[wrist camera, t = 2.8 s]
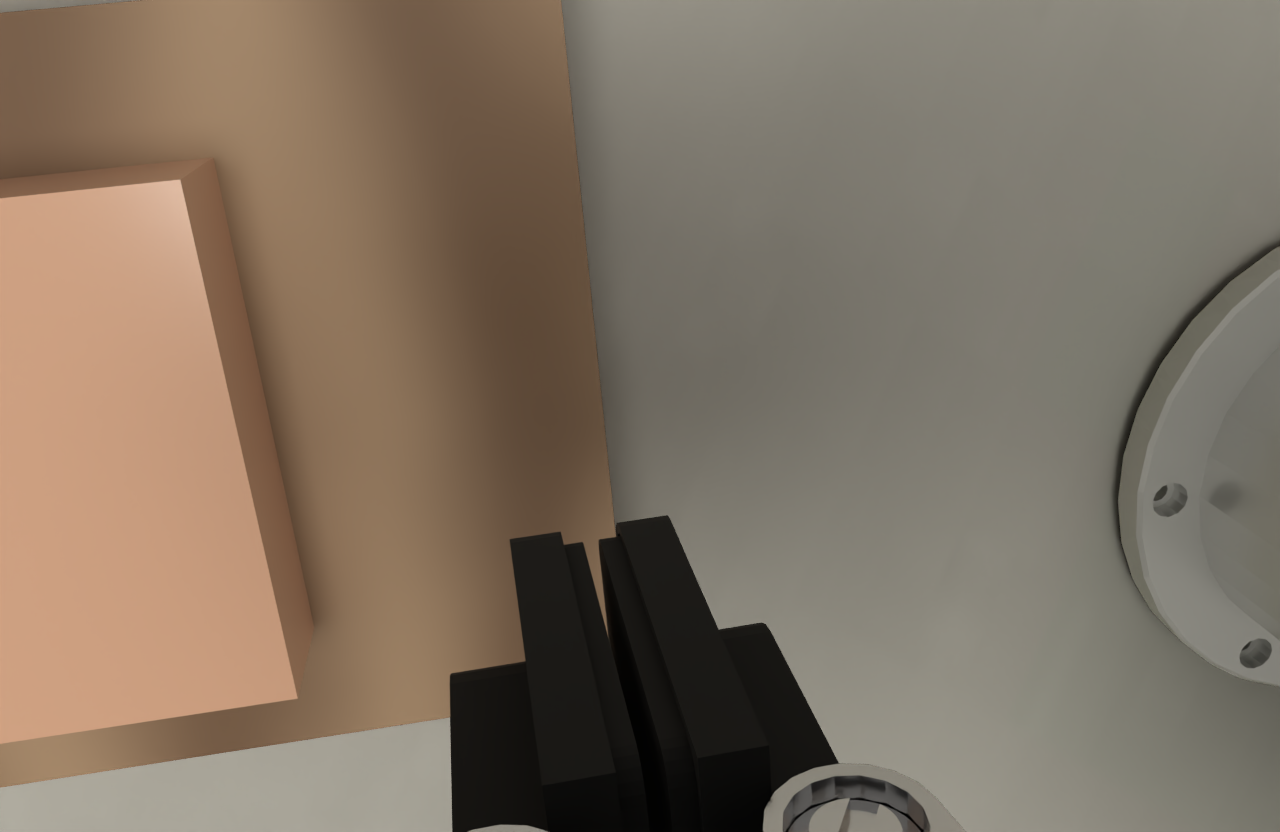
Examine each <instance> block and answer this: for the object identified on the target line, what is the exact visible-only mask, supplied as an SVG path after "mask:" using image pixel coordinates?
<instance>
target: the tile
mask: <svg viewBox="0 0 1280 832" xmlns="http://www.w3.org/2000/svg"><path fill="white" fill-rule="evenodd" d="M313 631H314V624H313V619H312V615H311V610H310V605H309V601H308V596H307V591H306V587H305V582H304V577H303V573H302V568H301V563H300V559H299V554H298V549H297V545H296V540H295V535H294V531H293V526H292V521H291V517H290V512H289V507H288V503H287V498H286V493H285V489H284V484H283V479H282V475H281V470H280V466H279V461H278V456H277V452H276V447H275V442H274V438H273V433H272V428H271V424H270V419H269V414H268V410H267V405H266V400H265V396H264V391H263V386H262V382H261V377H260V372H259V368H258V363H257V358H256V354H255V349H254V344H253V340H252V335H251V330H250V326H249V321H248V316H247V312H246V307H245V302H244V298H243V293H242V288H241V284H240V279H239V274H238V270H237V265H236V261H235V256H234V251H233V247H232V242H231V237H230V233H229V228H228V223H227V219H226V214H225V209H224V205H223V200H222V195H221V191H220V186H219V181H218V177H217V172H216V167H215V163H214V158H213V157H212V158H202V159H193V160H183V161H173V162H164V163H154V164H144V165H134V166H125V167H115V168H105V169H96V170H86V171H76V172H66V173H57V174H47V175H37V176H28V177H18V178H8V179H0V744H3V743H9V742H16V741H23V740H29V739H36V738H42V737H49V736H55V735H62V734H69V733H75V732H82V731H88V730H95V729H101V728H108V727H114V726H121V725H128V724H134V723H141V722H147V721H154V720H160V719H167V718H174V717H180V716H187V715H193V714H200V713H206V712H213V711H220V710H226V709H233V708H239V707H246V706H252V705H259V704H265V703H272V702H279V701H285V700H292V699H298V695H299V691H300V687H301V682H302V678H303V674H304V670H305V665H306V661H307V657H308V652H309V648H310V644H311V639H312V635H313Z"/></svg>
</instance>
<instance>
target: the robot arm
mask: <svg viewBox="0 0 1280 832" xmlns="http://www.w3.org/2000/svg"><path fill="white" fill-rule="evenodd" d="M1118 506H1119V519H1120V531H1121V543H1122V546H1123V549H1124V552H1125V556H1126V559H1127V562H1128V565H1129V569H1130V572H1131V575H1132V578H1133V581H1134V582H1135V584H1136V586H1137V588H1138V589H1139V591H1140V593H1141V594H1142V596H1143V598H1144V599H1145V601H1146V603H1147V604H1148V606H1149V608H1150V609H1151V611H1152V612H1153V613H1154V614H1155V615H1156V616H1157V617H1158V618H1159V619H1160V620H1161V621H1162V622H1163V623H1164V624H1165V625H1166V626H1167V627H1168V628H1169V629H1170V630H1171V631H1172V632H1173V633H1174V635H1175V636H1176V637H1177V638H1179V639H1180V640H1181V641H1182V642H1183V643H1184V644H1185V645H1187V646H1188V647H1189V648H1191V649H1192V650H1193V651H1194V652H1196V653H1197V654H1198V655H1199V656H1201V657H1202V658H1203V659H1205V660H1206V661H1207V662H1208V663H1210V664H1211V665H1213V666H1215V667H1217V668H1219V669H1221V670H1223V671H1225V672H1227V673H1229V674H1231V675H1233V676H1236V677H1238V678H1241V679H1244V680H1248V681H1253V682H1257V683H1262V684H1267V685H1272V686H1277V687H1280V246H1279V247H1277V248H1275V249H1273V250H1272V251H1271V252H1269V253H1268V254H1267V255H1265V256H1264V257H1263V258H1261V259H1260V260H1259V261H1257V262H1256V263H1255V264H1253V265H1252V266H1251V267H1249V268H1248V269H1247V270H1245V271H1244V272H1243V273H1241V274H1240V275H1239V276H1237V277H1236V278H1234V279H1233V280H1232V281H1230V282H1229V283H1228V284H1227V285H1226V287H1225V288H1224V289H1223V290H1222V291H1221V292H1220V293H1219V294H1218V295H1217V296H1216V297H1215V298H1214V299H1213V300H1212V301H1211V302H1210V303H1209V304H1208V305H1207V306H1206V307H1205V308H1204V309H1203V310H1202V311H1201V312H1200V313H1199V314H1198V315H1197V316H1196V317H1195V318H1194V319H1193V320H1192V321H1191V323H1190V324H1189V325H1188V327H1187V328H1186V330H1185V331H1184V332H1183V334H1182V335H1181V337H1180V338H1179V339H1178V341H1177V342H1176V343H1175V345H1174V346H1173V348H1172V349H1171V350H1170V352H1169V353H1168V355H1167V356H1166V357H1165V359H1164V360H1163V361H1162V363H1161V365H1160V366H1159V368H1158V370H1157V372H1156V374H1155V376H1154V378H1153V380H1152V382H1151V384H1150V386H1149V388H1148V390H1147V392H1146V394H1145V396H1144V398H1143V400H1142V402H1141V404H1140V406H1139V408H1138V410H1137V414H1136V417H1135V420H1134V423H1133V427H1132V430H1131V433H1130V436H1129V439H1128V443H1127V446H1126V449H1125V452H1124V455H1123V464H1122V472H1121V480H1120V488H1119V497H1118ZM509 540H510V547H511V555H512V563H513V570H514V578H515V585H516V593H517V600H518V608H519V615H520V623H521V631H522V638H523V646H524V653H525V661H524V662H518V663H512V664H506V665H499V666H493V667H487V668H481V669H475V670H469V671H463V672H457V673H451V674H450V727H451V778H452V829H453V832H966V831H965V830H964V829H963V827H962V826H961V825H960V824H959V823H958V822H957V821H956V819H955V818H954V817H953V816H952V815H951V814H950V812H949V811H948V810H947V809H946V808H945V807H944V806H943V804H942V803H941V802H940V801H939V800H938V799H937V798H936V797H935V796H934V795H933V794H932V793H930V792H929V791H928V790H927V789H926V788H925V787H923V786H922V785H921V784H920V783H919V782H917V781H915V780H913V779H911V778H909V777H907V776H905V775H902V774H900V773H898V772H896V771H894V770H890V769H886V768H881V767H877V766H873V765H869V764H845V763H838V761H837V759H836V757H835V755H834V753H833V751H832V749H831V747H830V745H829V743H828V741H827V740H826V738H825V736H824V734H823V732H822V730H821V728H820V726H819V724H818V722H817V720H816V718H815V716H814V714H813V712H812V711H811V709H810V707H809V705H808V703H807V701H806V699H805V697H804V695H803V693H802V691H801V689H800V687H799V685H798V683H797V682H796V680H795V678H794V676H793V674H792V672H791V670H790V668H789V666H788V664H787V662H786V660H785V658H784V656H783V654H782V653H781V651H780V649H779V647H778V645H777V643H776V641H775V639H774V637H773V635H772V633H771V631H770V630H769V628H768V627H767V626H766V624H764V623H756V624H750V625H744V626H738V627H732V628H726V629H720V630H718V628H717V625H716V623H715V621H714V618H713V616H712V614H711V612H710V609H709V607H708V605H707V602H706V600H705V598H704V596H703V593H702V591H701V589H700V586H699V584H698V582H697V580H696V577H695V575H694V573H693V570H692V568H691V566H690V564H689V561H688V559H687V557H686V554H685V552H684V550H683V548H682V545H681V543H680V541H679V538H678V536H677V534H676V532H675V529H674V527H673V525H672V522H671V520H670V518H669V517H668V515H667V516H660V517H654V518H647V519H640V520H634V521H627V522H620V523H617V524H616V537H612V538H605V539H599V556H600V565H601V574H602V583H603V592H604V602H605V611H606V620H607V629H608V634H607V631H606V627H605V623H604V619H603V615H602V612H601V608H600V604H599V600H598V597H597V593H596V589H595V585H594V581H593V578H592V574H591V570H590V566H589V562H588V559H587V555H586V551H585V547H584V544H583V542H579V543H572V544H565V545H564V543H563V539H562V535H561V531H560V532H554V533H547V534H540V535H534V536H527V537H520V538H514V539H509Z"/></svg>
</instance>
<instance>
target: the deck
mask: <svg viewBox="0 0 1280 832" xmlns="http://www.w3.org/2000/svg"><path fill="white" fill-rule="evenodd" d="M212 157H213V158H214V163H215V167H216V172H217V177H218V181H219V186H220V191H221V195H222V200H223V205H224V209H225V214H226V219H227V223H228V228H229V233H230V237H231V242H232V247H233V251H234V256H235V261H236V265H237V270H238V274H239V279H240V284H241V288H242V293H243V298H244V302H245V307H246V312H247V316H248V321H249V326H250V330H251V335H252V340H253V344H254V349H255V354H256V358H257V363H258V368H259V372H260V377H261V382H262V386H263V391H264V396H265V400H266V405H267V410H268V414H269V419H270V424H271V428H272V433H273V438H274V442H275V447H276V452H277V456H278V461H279V466H280V470H281V475H282V479H283V484H284V489H285V493H286V498H287V503H288V507H289V512H290V517H291V521H292V526H293V531H294V535H295V540H296V545H297V549H298V554H299V559H300V563H301V568H302V573H303V577H304V582H305V587H306V591H307V596H308V601H309V605H310V610H311V615H312V619H313V624H314V631H313V635H312V639H311V644H310V648H309V652H308V657H307V661H306V665H305V670H304V674H303V678H302V682H301V687H300V691H299V695H298V699H292V700H285V701H279V702H272V703H265V704H259V705H252V706H246V707H239V708H233V709H226V710H220V711H213V712H206V713H200V714H193V715H187V716H180V717H174V718H167V719H160V720H154V721H147V722H141V723H134V724H128V725H121V726H114V727H108V728H101V729H95V730H88V731H82V732H75V733H69V734H62V735H55V736H49V737H42V738H36V739H29V740H23V741H16V742H9V743H3V744H0V787H6V786H13V785H19V784H26V783H32V782H38V781H45V780H51V779H58V778H64V777H70V776H77V775H83V774H90V773H96V772H103V771H109V770H115V769H122V768H128V767H135V766H141V765H147V764H154V763H160V762H167V761H173V760H179V759H186V758H192V757H199V756H205V755H211V754H218V753H224V752H231V751H237V750H243V749H250V748H256V747H263V746H269V745H275V744H282V743H288V742H295V741H301V740H308V739H314V738H320V737H327V736H333V735H340V734H346V733H352V732H359V731H365V730H372V729H378V728H384V727H391V726H397V725H404V724H410V723H416V722H423V721H429V720H436V719H442V718H448V717H450V674H451V673H457V672H463V671H469V670H475V669H481V668H487V667H493V666H499V665H506V664H512V663H518V662H524V661H525V653H524V646H523V638H522V631H521V623H520V615H519V608H518V600H517V593H516V585H515V578H514V570H513V563H512V555H511V547H510V540H509V539H514V538H520V537H527V536H534V535H540V534H547V533H554V532H560V531H561V535H562V539H563V543H564V545H565V544H572V543H579V542H583V544H584V547H585V551H586V555H587V559H588V562H589V566H590V570H591V574H592V578H593V581H594V585H595V589H596V593H597V597H598V600H599V604H600V608H601V612H602V615H603V619H604V623H605V627H606V631H607V634H608V629H607V620H606V611H605V602H604V592H603V583H602V574H601V565H600V556H599V539H605V538H612V537H616V533H615V523H614V513H613V503H612V493H611V484H610V474H609V464H608V454H607V445H606V435H605V425H604V415H603V405H602V396H601V386H600V376H599V366H598V357H597V347H596V337H595V327H594V318H593V308H592V298H591V288H590V278H589V269H588V259H587V249H586V239H585V230H584V220H583V210H582V200H581V190H580V181H579V171H578V161H577V151H576V142H575V132H574V122H573V112H572V102H571V93H570V83H569V73H568V63H567V54H566V44H565V34H564V24H563V14H562V5H561V0H140V1H128V2H117V3H106V4H94V5H83V6H72V7H60V8H49V9H38V10H26V11H15V12H4V13H0V179H8V178H18V177H28V176H37V175H47V174H57V173H66V172H76V171H86V170H96V169H105V168H115V167H125V166H134V165H144V164H154V163H164V162H173V161H183V160H193V159H202V158H212Z"/></svg>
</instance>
